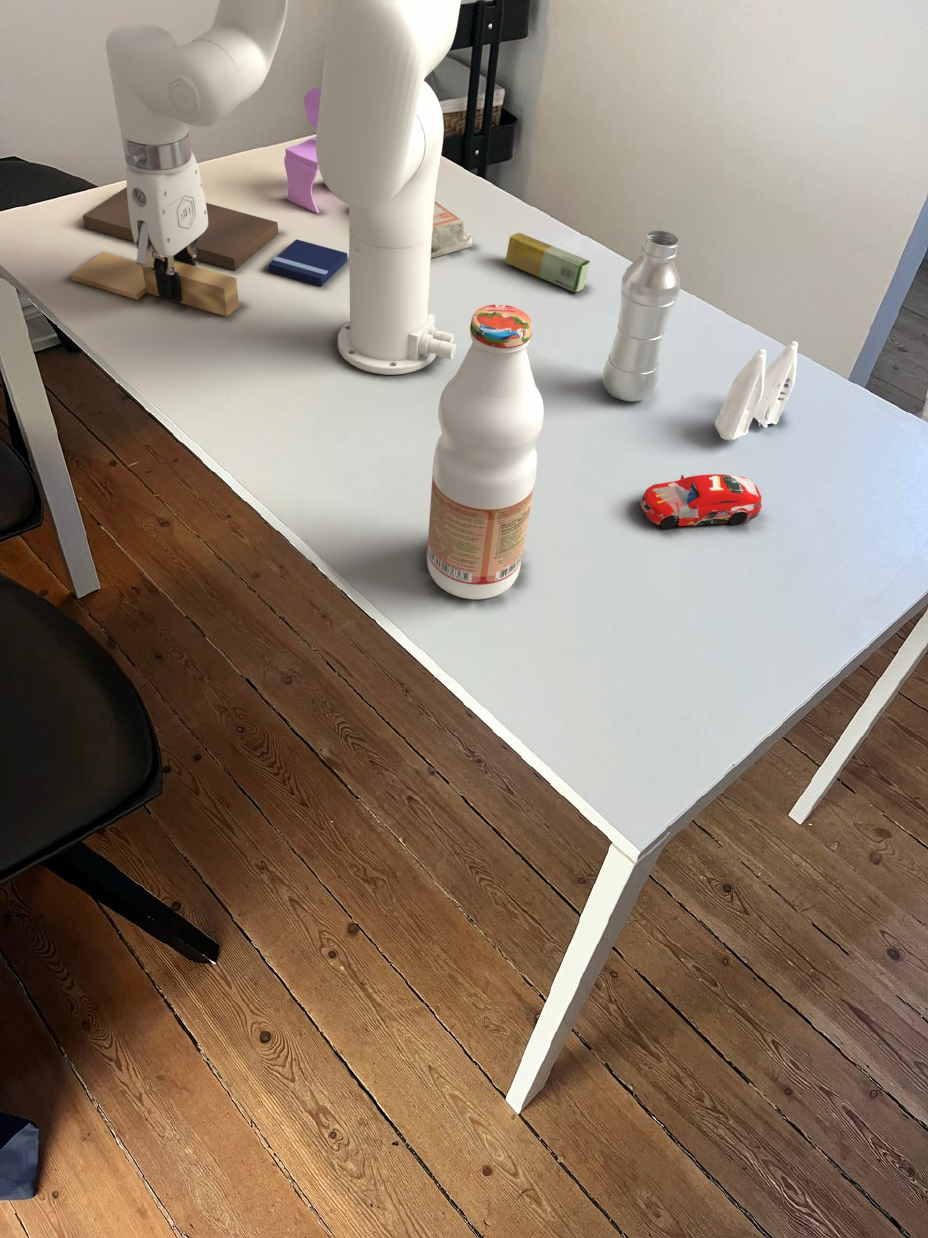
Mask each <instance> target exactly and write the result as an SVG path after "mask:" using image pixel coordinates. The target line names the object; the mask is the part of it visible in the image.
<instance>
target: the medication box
mask: <svg viewBox="0 0 928 1238" xmlns="http://www.w3.org/2000/svg"><path fill="white" fill-rule="evenodd" d="M504 263H505V264H506V265H509V266H511V267H514V268H516V269H519V270H520V271H521V270H522V271H523V272H526V273H528V274H529V275H533V276H535V277H538V278H540V279H542V280H545V281H547V282H550V283H552V284H554V285H556V286H559V287H561V288H564V289H566V290H568V291H570V292H573V293H574V294H577V293H579V292H581V291H583V290H584V288H585V284H586V281H587V276H588V272H589V268H590V264H591V261H590V260H588V259H586V258H583V257H581V256H578V255H576V254H573V253H571V252H568V251H566V250H563V249H561V248H559V247H556V246H553V245H551V244H550V243H549V244H548V243H547V242H544V241H542V240H539V239H536V238H534V237H532V236H528V235H527V234H524V233H521V232H516V233H514V234H512V235H511V236H509V239H508V245H507V251H506V257H505V261H504Z"/></svg>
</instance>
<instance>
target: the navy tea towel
mask: <svg viewBox="0 0 928 1238" xmlns="http://www.w3.org/2000/svg"><path fill="white" fill-rule="evenodd" d="M346 263H348V253H347V252H344V251H340V250H337V249H335V248H330V247H326V246H323V245H319V244H315V243H311V242H308V241H306V240H301V239H294V240H293V242H291V243H289V244H288V245H287V246H286V248H284V249H283V250H282V251H281V252H280V253H279V254H278V255H276V256H274V257H273V258H272V259H271V261H270V262H268V266H267V267H268V272H269V273H272V274H276V275H279V276H283V277H286V278H288V279H292V280H297V281H299V282H303V283H306V284H310V285H313V286H317V287H323V286H324V285H325V284H326V283H327V282H328V281H329V280H330V279H331V278H332V277H333V276H334V275H335V274H336V273H337V272H338V271H339V270H340V269H341V268H342V267H343V266H344V265H345V264H346Z"/></svg>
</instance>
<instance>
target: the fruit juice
mask: <svg viewBox="0 0 928 1238" xmlns="http://www.w3.org/2000/svg"><path fill="white" fill-rule="evenodd" d="M469 331H470V333H469V334H470V339H471V344H470V346H469V348H468V350H467V352H466V354H465V356H464V358H463V360H462V362H461V364H460V366H459V368H458V370H457V371H456V373H455V374H454V376H453V377H451V379H450V380H449V381H448V382H447V383H446V385H445V386H444V388H443V390H442V392H441V394H440V398H439V403H438V409H437V410H438V411H437V413H438V422H439V426H440V431H441V434H440V436H439V438H438V440H437V442H436V446H435V449H434V453H433V454H434V455H433V461H432V473H431V489H430V503H429V505H430V506H429V519H428V520H429V521H428V535H427V548H426V549H427V551H426V564H427V569H428V571H429V575H430V576H431V579H432V580H433V581H434V583H435V584H436V585H437V586H439V587H440V588H441V590H443V591H444V592H446V593H448V594H450V595H453V596H455V597H458V598H463V599H468V600H484V599H485V600H486V599H490V598H494V597H496V596H499V595H501V594H503V593H505V592H506V591H507V590H508V589H510V588H511V587H512V585H514V583H515V582H516V580H517V578H518V577H519V573H520V570H521V565H522V560H523V553H524V547H525V541H526V536H527V530H528V523H529V518H530V513H531V506H532V500H533V494H534V488H535V485H536V477H537V470H538V469H537V468H538V454H537V449H536V445H535V444H536V441H537V440H538V438H539V436H540V433H541V432H542V428H543V425H544V418H545V407H544V406H545V405H544V401H543V397H542V394H541V392H540V391H539V389H538V387H537V385H536V382H535V379H534V376H533V372H532V367H531V364H530V359H529V354H528V351H527V347H528V345H529V343H530V340H531V338H532V333H533V323H532V319H531V318H530V316H529V315H528V314H527V313H526V312H525V311H524V310H522V309H519V308H517V307H515V306H511V305H507V304H489V305H485V306H482V307H480V308H477V310H476V311H475V312H474V313H473V315H472V317H471V321H470V325H469Z"/></svg>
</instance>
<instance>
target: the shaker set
mask: <svg viewBox="0 0 928 1238" xmlns="http://www.w3.org/2000/svg"><path fill="white" fill-rule="evenodd" d="M798 346H799V343H798V342H797V341H790V342H789V343H788V344H787V345H786V346H785V348H784V349H782V351H781V352H780V353H779V354H778V356H777V357H776V358H775V359H774V360H773V362H772V363H771V364H770V365H769V367H768V368H767V369H766V360H767V359H766V358H767V351H766V350H765V349H763V348H761V349H758V350H757V351H756V353H754V355H753V356H751V358H750V359H749V361H748V362H747V363H746V364H745V366H744V367H743V368H742V369H741V370H740V371H739V373H738V374H737V375H736V377H735V378H734V379H733V381H732V383H731V385H730V387H729V390H728V392H727V395H726V397H725V399H724V401H723V404H722V406H721V409H720V411H719V414H718V416H717V417H716V418H715V419H714V426H715V429H716V430H717V432H718V433H719V436H720V438H721V439H723V440H726V441H735V440H736V439H737V438H741V437H743V436H746V435H747V433H748V432H749V427H750V425H751V423H752V421H753V419H755V420H756V421H757V422H758V426H759V427H762V426H763V428H768V425H769V424H774V425H777V424H778V422H779V421H780V420H779V419H780V417H781V415H783V410H784V408H785V406H786V404H787V402H788V400H789V398H790V395H791V393H792V391H793V388H794V385H795V380H796V372H797V362H798ZM761 425H762V426H761Z"/></svg>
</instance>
